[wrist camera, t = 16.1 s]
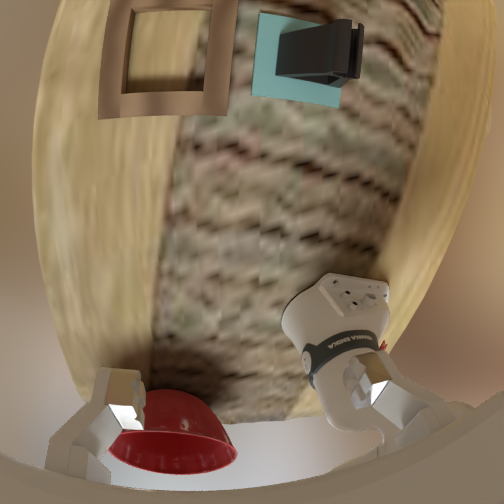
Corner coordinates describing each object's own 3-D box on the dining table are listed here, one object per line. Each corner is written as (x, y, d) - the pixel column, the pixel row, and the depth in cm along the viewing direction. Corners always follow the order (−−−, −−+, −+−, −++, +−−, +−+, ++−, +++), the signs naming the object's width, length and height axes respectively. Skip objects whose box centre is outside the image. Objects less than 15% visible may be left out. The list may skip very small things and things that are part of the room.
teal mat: (343, 32, 29) (345, 31, 28) (336, 107, 34) (338, 108, 34) (258, 14, 27) (260, 12, 26) (250, 95, 32) (251, 95, 32)
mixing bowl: (106, 359, 50) (93, 422, 37) (240, 373, 57) (251, 435, 44) (120, 420, 62) (116, 467, 49) (219, 429, 70) (225, 475, 56)
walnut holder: (237, -6, 25) (240, -13, 23) (225, 115, 33) (226, 116, 31) (117, -2, 22) (112, -8, 20) (104, 118, 30) (97, 119, 28)
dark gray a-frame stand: (274, 75, 31) (306, 62, 20) (279, 34, 28) (312, 7, 18) (338, 88, 32) (389, 87, 22) (342, 50, 30) (394, 36, 19)
